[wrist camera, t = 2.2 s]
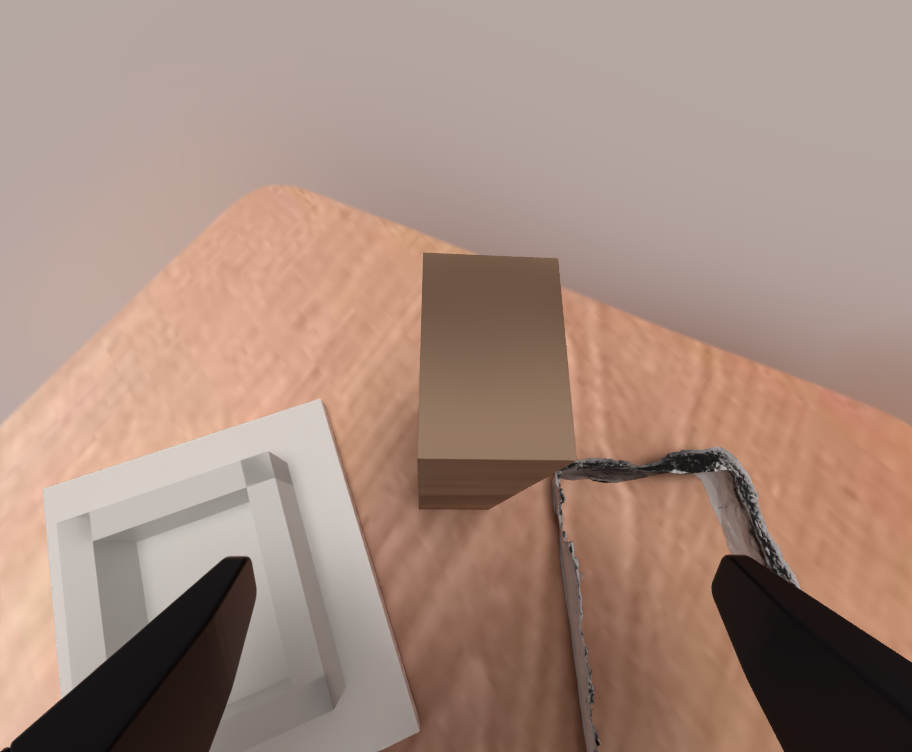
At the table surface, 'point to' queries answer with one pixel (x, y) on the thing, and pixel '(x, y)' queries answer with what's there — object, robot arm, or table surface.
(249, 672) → the white recessed tray
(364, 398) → the table surface
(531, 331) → the walnut block
